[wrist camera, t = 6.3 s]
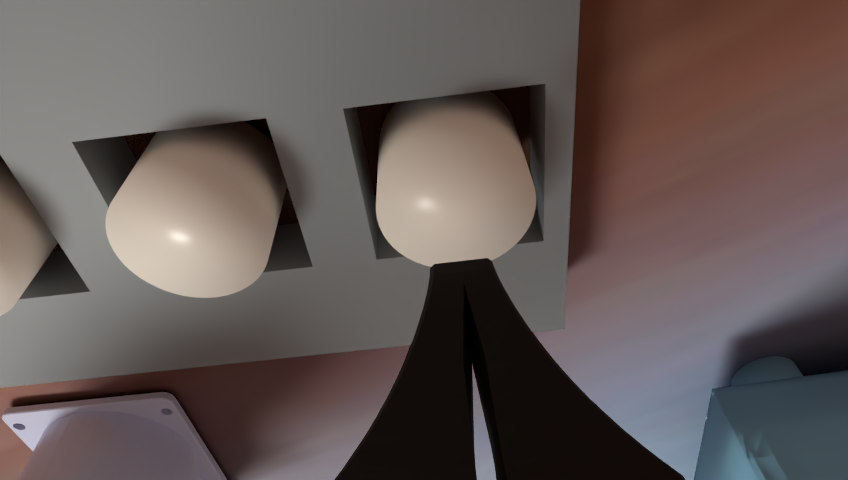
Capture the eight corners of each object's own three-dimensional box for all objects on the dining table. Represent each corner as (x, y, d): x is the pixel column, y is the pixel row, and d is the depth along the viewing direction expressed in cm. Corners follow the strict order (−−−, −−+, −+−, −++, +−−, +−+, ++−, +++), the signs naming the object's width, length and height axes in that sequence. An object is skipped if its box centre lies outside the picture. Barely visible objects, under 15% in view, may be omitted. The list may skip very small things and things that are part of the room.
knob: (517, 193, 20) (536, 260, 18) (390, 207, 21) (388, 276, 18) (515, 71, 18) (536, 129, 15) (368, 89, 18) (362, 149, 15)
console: (550, 282, 24) (564, 329, 22) (18, 339, 25) (-14, 389, 23) (560, -125, 15) (585, -107, 13) (-268, -9, 16) (-361, 24, 14)
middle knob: (301, 219, 21) (287, 289, 18) (178, 233, 21) (145, 304, 18) (265, 103, 18) (241, 166, 15) (123, 121, 18) (75, 185, 15)
